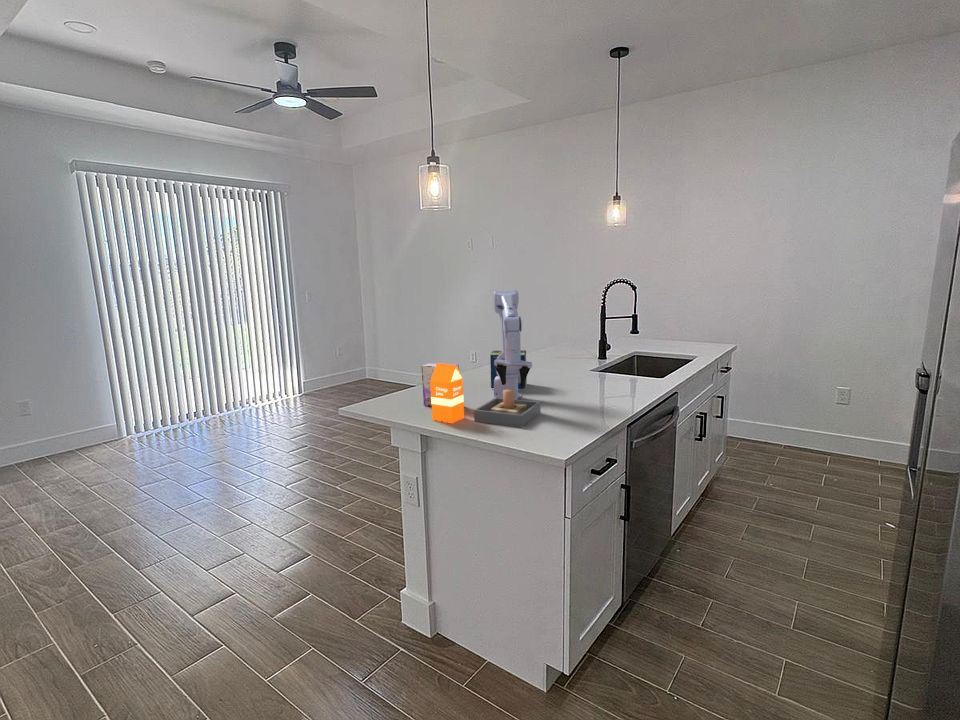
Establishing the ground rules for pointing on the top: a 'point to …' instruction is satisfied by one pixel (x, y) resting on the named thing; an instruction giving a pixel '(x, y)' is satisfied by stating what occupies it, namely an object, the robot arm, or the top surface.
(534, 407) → the tray
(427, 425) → the top surface
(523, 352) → the protein box
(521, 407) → the plate
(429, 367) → the candy box
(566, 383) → the top surface
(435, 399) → the orange juice
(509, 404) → the peg
